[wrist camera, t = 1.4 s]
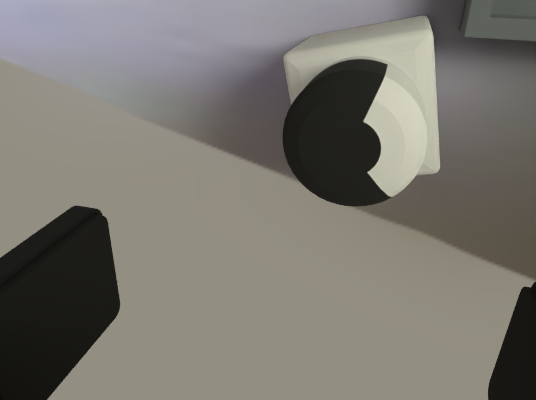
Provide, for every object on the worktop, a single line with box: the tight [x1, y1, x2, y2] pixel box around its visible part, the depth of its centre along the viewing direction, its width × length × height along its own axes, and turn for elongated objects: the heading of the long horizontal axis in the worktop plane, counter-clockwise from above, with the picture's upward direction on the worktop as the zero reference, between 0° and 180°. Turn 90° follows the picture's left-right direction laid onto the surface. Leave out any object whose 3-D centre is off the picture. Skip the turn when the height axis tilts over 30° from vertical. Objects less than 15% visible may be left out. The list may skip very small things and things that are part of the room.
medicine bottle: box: [283, 16, 440, 206], centre depth 24 cm, size 7×7×12 cm
